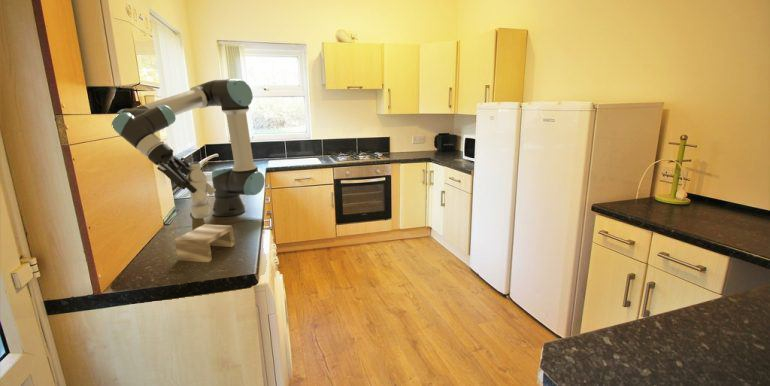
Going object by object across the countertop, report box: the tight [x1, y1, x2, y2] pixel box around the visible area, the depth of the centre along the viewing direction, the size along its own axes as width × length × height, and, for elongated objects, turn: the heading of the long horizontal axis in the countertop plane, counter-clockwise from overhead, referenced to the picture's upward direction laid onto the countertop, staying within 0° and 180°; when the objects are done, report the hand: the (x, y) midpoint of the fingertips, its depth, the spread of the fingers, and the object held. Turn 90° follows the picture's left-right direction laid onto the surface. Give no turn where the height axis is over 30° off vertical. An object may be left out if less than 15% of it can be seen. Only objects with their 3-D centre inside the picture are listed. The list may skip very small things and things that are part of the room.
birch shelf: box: [174, 223, 235, 263], centre depth 134 cm, size 16×12×8 cm
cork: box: [189, 212, 206, 231], centre depth 151 cm, size 6×6×11 cm
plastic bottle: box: [186, 162, 212, 219], centre depth 129 cm, size 6×7×20 cm
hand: (208, 195), depth 129 cm, fingers closed on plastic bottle, 6 cm apart
